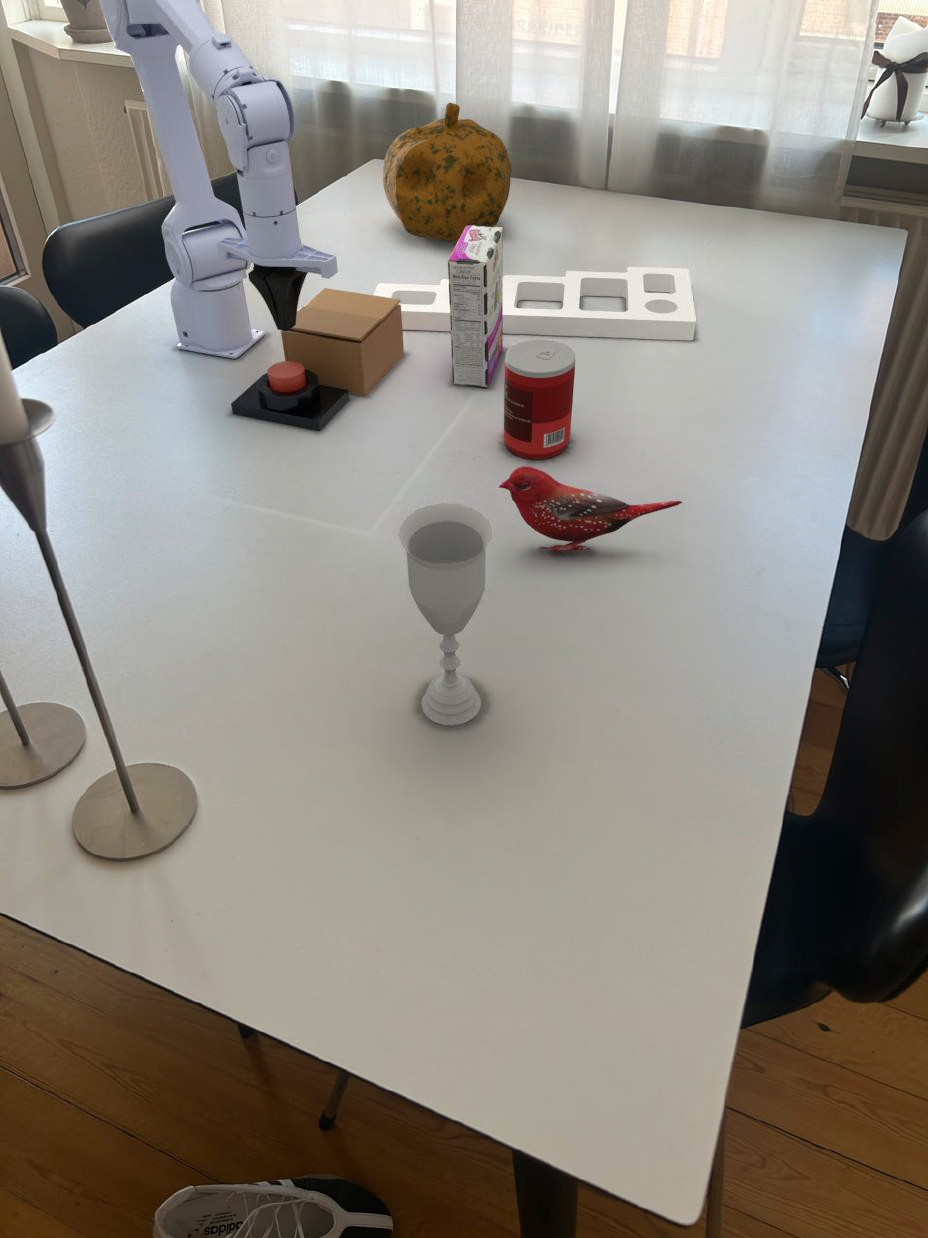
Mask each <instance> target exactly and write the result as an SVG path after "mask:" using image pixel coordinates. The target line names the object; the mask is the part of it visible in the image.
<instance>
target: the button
mask: <svg viewBox="0 0 928 1238" xmlns="http://www.w3.org/2000/svg"><path fill="white" fill-rule="evenodd" d="M267 373H268V377H269V383H270V388H271V389H272V390H273V391H278V392H291V391H296V390H299V389H301V388H304V387H305V386H306V376H305V369H304V366H303V365H302V364H301V363H298V362H294V361H285V360H284V361H278V362H276V363H273V364H272V365H271V366H269V367H268V368H267Z"/></svg>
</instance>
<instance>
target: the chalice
mask: <svg viewBox="0 0 928 1238" xmlns="http://www.w3.org/2000/svg"><path fill="white" fill-rule="evenodd" d="M398 538H399V541H400V544H401V546H402V547H403V549H404V550H405V551H406V561H407V562H406V564H407V577H408V579H407V580H408V587H409V591H410V595H411V596H412V598H413V600H414V602H415V604H416V606H417V608H418V611H419V612H420V614H421V615H422V616H423V617H424V618H425V620H426V622H427V623H428V624H429V625H430V627H431V628H432V629H433V631H434V632H435V633H437V634H439V635H441V636H442V640H441V641H440V642H439V648H440V650H441V651H442V653H443V655H442V656H441V657H440V659H439V661H438V662H439V666H440V667H441V668H442V669H443V670H444V672H443V673H441V674H439V675H437V676H435V677H434V678H433V679H431V681H430V683H429V686H428V687H427V689H426V690H425V693H424V695H423V697H422V699H421V708H422V712H423V713H424V714H425V716H426V717H427V718H428V720H430V721H433V722H434V723H437V724H440V725H443V726H458V725H463V724H465V723H467V722H469V721H472V720H473V719H474V718H475V717H476V716H477V715H478V713H479V711H480V709H481V704H482V700H481V696H480V694H479V693H478V692H477V691H476V688H475V687H474V685H473V684H472V681H471V680H470V679H469V678H468V677H467V676H465V675H463V674H462V673H459V672H456V671H457V669H458V668H459V667H460V665H461V659H460V657H459V656H457V654H456V652H457V651H458V649H459V648H460V643H459V641H458V640H457V639H456V635H457V634H459V633H461V632H462V631H464V629H465V627H466V626H467V625H468V623H469V622H470V620H471V619H472V617H473V615H474V614H475V612H476V611H477V608H478V607H479V605H480V602H481V600H482V598H483V595H484V593H485V590H486V561H487V560H486V557H487V556H486V555H487V554H486V549H488V546H489V545H490V543H491V541H492V539H493V528H492V525H491V523H490V521H489V519H488V518H487V517H485V516H484V514H483V513H482V512H480V511H479V510H476V509H474V508H472V507H470V506H467V505H463V504H459V503H447V502H446V503H445V502H444V503H443V502H442V503H435V504H430V505H426V506H423V507H421V508H418V509H416V510H414V511H413V512H412V513H410V514H409V515H407V516H406V517H405V519H404V520H403V521H402V523H401V524H400V527H399V531H398Z"/></svg>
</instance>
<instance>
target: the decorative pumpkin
mask: <svg viewBox="0 0 928 1238" xmlns="http://www.w3.org/2000/svg"><path fill="white" fill-rule="evenodd" d="M459 115H460V106H459V105H458V104H457V103H453V102H451V101H450V102H448V103H447V104H446V105H445V110H444V116H443V118H439V119H435V120H433V121H431V122H430V123H427V124H425V125H423V126H416V127H412V128H409V129H407V130H405V131H403V132H402V133H400V134H399V135H398V136H397V137H396V138H395V139H394V140H393V141H392V143H391V144H390V146H389V147H388V149H387V151H386V153H385V156H384V160H383V166H382V185H383V190H384V194H385V197H386V200H387V201H388V204H389V206H390V207H391V209H392V210H393V212H394V214H395V216H396V217H397V218H398V220H399V221H400V222H401V224H402V226H403V228H404V229H405V231H406V232H407V233H409V235H412V236H415V237H417V238H429V239H435V240H440V241H445V242H448V243H455V242H458V241H459V239H460V237H461V235H462V233H463V231H464V229H465V227H466V226H470V225H476V226H488V227H495V226H496V225H497V224H498V222H499V220H500V218H501V215H502V214H503V211H504V209H505V207H506V204H507V202H508V200H509V195H510V190H511V174H512V172H513V169H512V165H511V160H510V157H509V153H508V150H507V147H506V145H505V143H504V141H503V140H502V138H500V137H499V135H497V134H495V132H493V131H491V130H488V129H486V128H485V127H483V126H482V125H480V124H479V123H477V122H476V121H475V120H473V119H471V118H463V119H462V118H461V119H459Z"/></svg>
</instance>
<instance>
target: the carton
mask: <svg viewBox="0 0 928 1238" xmlns="http://www.w3.org/2000/svg"><path fill="white" fill-rule="evenodd" d="M304 306H305V305H303V306H302V307H300V308H299V309H297V315H296V325H295V326H294V327H292V328H291V329H290V330H288V331H282V330H280V335H281V342H282V348H283V355H284V361H294V362H298V363H301V364H302V365H303V366H304V369H307V370H310V371H312V372H313V373H314V374H316V375H317V376H318V382H319V385H325V386H330V387H336V388H341V389H346V390H348V393H349V394H350V395H354V396H355V395H356V396H361V397H367V396H368V395H369V393H371V391H372V390H373V389H374V388H375V387H376V386H377V385H378V384H379V382H381V380H383V378H384V377H385V376H386V375H387V374H388V373H389V372H390V371H391V370H392V368H393V367H394V366H395V365H396V364H397V363H398V362H399V361H400V360H401V359H402V358H403V357H404V355H405V350H404V349H405V348H404V334H403V333H404V331H403V330H402V314H401V305H397V306H396V307H395V308H394V309H393V310H392V311H391V312H390V313H389V314H388V315H387V316H386V317H385V318H384V319H383V320H382V321H381V319H379V318H373V317H367V316H361V315H354V314H348V313H342V312H335V311H329V310H323V309H317V308H310V307H304Z"/></svg>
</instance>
